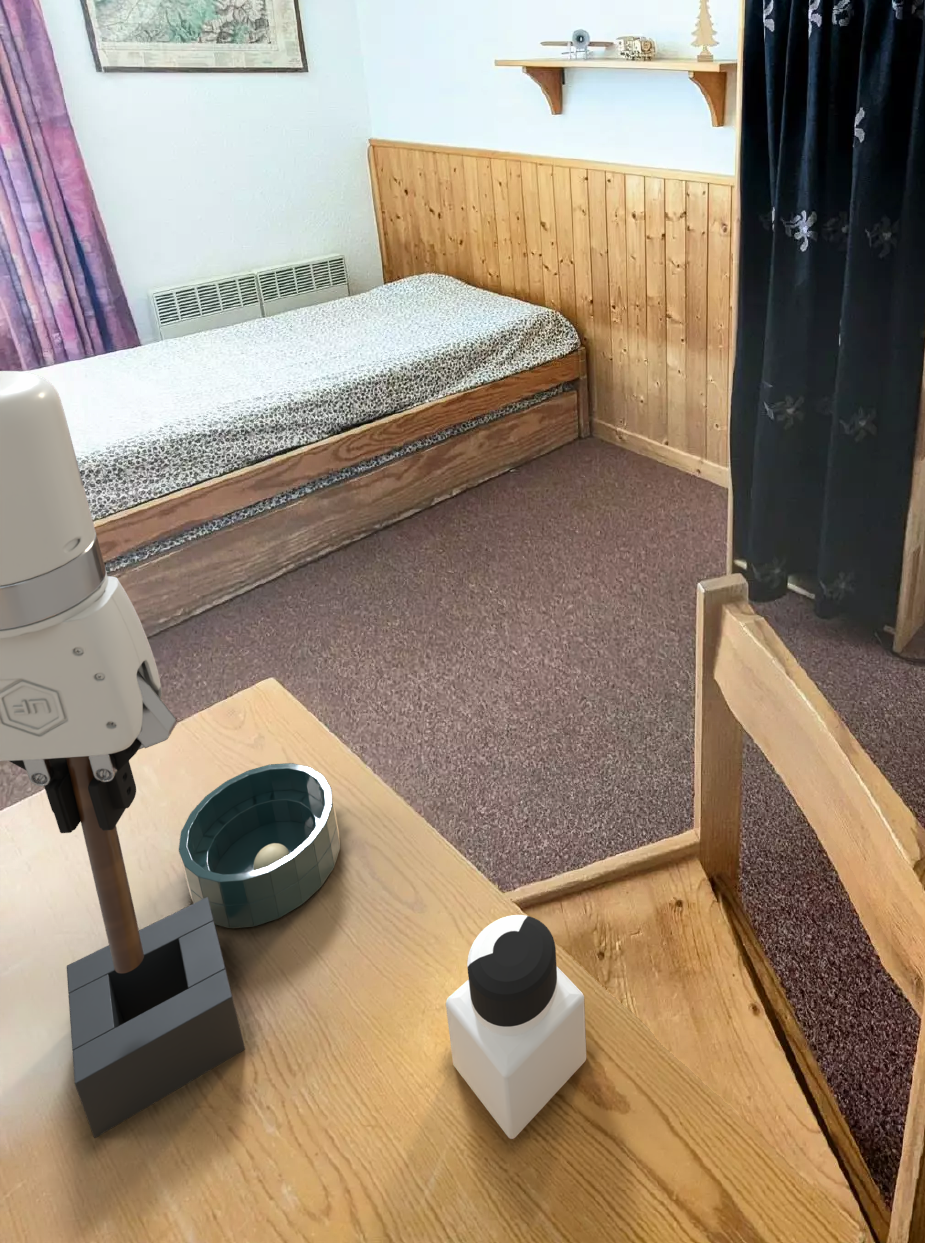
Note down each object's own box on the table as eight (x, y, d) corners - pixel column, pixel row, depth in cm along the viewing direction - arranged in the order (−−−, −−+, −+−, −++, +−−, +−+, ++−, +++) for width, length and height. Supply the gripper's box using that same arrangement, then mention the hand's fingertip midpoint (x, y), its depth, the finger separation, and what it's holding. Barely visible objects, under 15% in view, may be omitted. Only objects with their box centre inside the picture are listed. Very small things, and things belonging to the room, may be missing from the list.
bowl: (166, 938, 72) (152, 886, 70) (224, 814, 84) (213, 767, 82) (318, 927, 73) (308, 876, 71) (355, 806, 85) (347, 759, 82)
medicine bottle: (588, 1060, 63) (584, 946, 59) (511, 1144, 59) (501, 1026, 54) (527, 992, 68) (519, 881, 64) (451, 1065, 63) (437, 950, 59)
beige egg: (249, 870, 74) (266, 896, 75) (283, 846, 76) (299, 871, 76) (244, 853, 77) (260, 878, 77) (277, 830, 78) (292, 855, 79)
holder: (84, 1019, 66) (66, 965, 64) (220, 948, 71) (207, 896, 69) (95, 1141, 59) (74, 1084, 57) (245, 1051, 64) (232, 996, 62)
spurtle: (110, 976, 59) (59, 757, 54) (120, 953, 61) (71, 738, 56) (138, 971, 60) (91, 753, 55) (147, 947, 61) (102, 734, 57)
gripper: (-166, 625, 47) (-66, 873, 53) (137, 611, 48) (198, 855, 54) (-68, 550, 54) (9, 776, 60) (194, 539, 55) (242, 762, 61)
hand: (98, 812), depth 57 cm, fingers closed on spurtle, 1 cm apart
